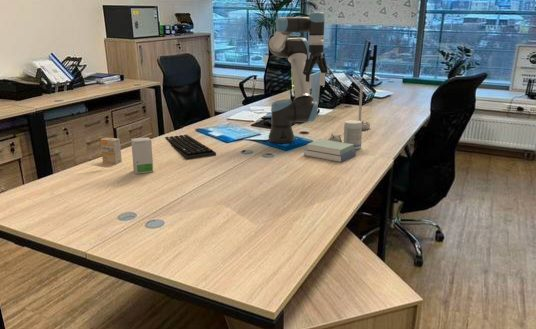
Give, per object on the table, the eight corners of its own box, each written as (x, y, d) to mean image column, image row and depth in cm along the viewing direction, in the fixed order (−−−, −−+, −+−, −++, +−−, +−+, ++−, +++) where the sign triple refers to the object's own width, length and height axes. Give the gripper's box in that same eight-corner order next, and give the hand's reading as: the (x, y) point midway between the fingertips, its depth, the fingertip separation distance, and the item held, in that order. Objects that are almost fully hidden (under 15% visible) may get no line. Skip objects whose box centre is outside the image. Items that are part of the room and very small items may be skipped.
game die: (348, 141, 241) (336, 155, 243) (345, 137, 249) (334, 151, 251) (335, 131, 239) (324, 145, 241) (333, 128, 247) (321, 142, 249)
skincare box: (136, 174, 205) (132, 141, 201) (133, 170, 211) (130, 138, 206) (154, 171, 209) (151, 139, 204) (151, 168, 215) (148, 136, 210)
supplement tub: (364, 148, 247) (366, 122, 242) (352, 150, 242) (353, 124, 238) (352, 144, 255) (353, 119, 250) (339, 147, 250) (340, 121, 245)
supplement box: (102, 164, 220) (99, 139, 217) (109, 162, 225) (106, 137, 221) (116, 166, 218) (113, 140, 214) (122, 163, 222) (119, 138, 218)
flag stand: (371, 132, 283) (374, 85, 275) (350, 132, 284) (353, 85, 275) (367, 128, 296) (369, 82, 287) (347, 128, 296) (349, 83, 287)
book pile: (303, 155, 234) (304, 144, 232) (319, 149, 246) (319, 138, 244) (341, 162, 221) (341, 150, 219) (355, 155, 233) (356, 144, 231)
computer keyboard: (162, 143, 264) (162, 136, 263) (188, 139, 271) (187, 133, 270) (186, 161, 226) (186, 154, 225) (216, 157, 233) (215, 150, 232)
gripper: (309, 45, 214) (308, 89, 220) (335, 43, 232) (333, 84, 239) (296, 45, 218) (295, 88, 224) (322, 43, 237) (321, 83, 243)
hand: (315, 86), depth 231 cm, fingers open, 13 cm apart
